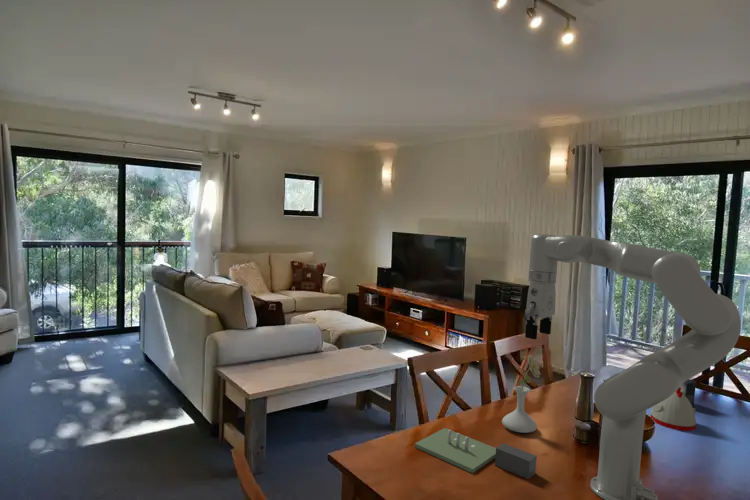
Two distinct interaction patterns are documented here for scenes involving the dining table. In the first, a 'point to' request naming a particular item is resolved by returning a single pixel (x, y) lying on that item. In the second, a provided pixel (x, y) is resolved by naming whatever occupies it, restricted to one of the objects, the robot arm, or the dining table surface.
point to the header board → (457, 449)
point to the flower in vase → (522, 405)
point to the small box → (689, 390)
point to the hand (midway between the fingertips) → (538, 335)
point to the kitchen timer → (675, 413)
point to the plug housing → (515, 460)
